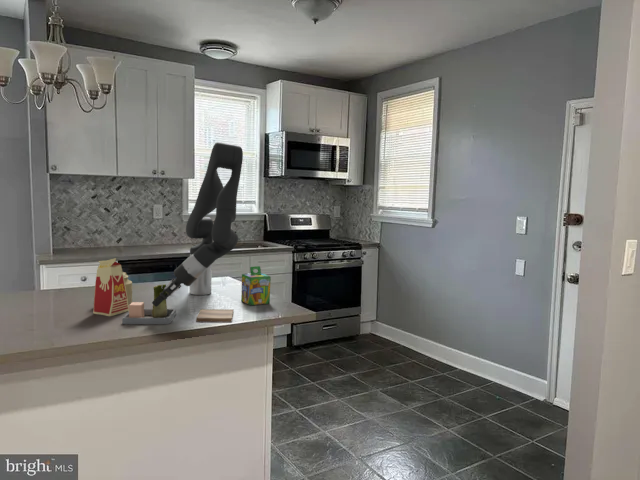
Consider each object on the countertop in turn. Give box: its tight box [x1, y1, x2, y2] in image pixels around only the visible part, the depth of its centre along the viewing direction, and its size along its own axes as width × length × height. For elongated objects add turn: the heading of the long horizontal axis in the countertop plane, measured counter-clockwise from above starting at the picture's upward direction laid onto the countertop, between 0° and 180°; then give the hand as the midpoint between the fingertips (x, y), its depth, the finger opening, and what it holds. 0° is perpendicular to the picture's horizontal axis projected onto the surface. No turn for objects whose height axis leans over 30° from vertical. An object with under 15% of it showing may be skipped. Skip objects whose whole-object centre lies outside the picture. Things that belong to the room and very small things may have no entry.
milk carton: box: [92, 257, 129, 317], centre depth 168 cm, size 9×9×20 cm
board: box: [195, 308, 234, 323], centre depth 168 cm, size 12×12×1 cm
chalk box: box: [240, 265, 272, 306], centre depth 191 cm, size 9×9×15 cm
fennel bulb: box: [151, 283, 168, 318], centre depth 163 cm, size 6×5×12 cm
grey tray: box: [121, 308, 177, 325], centre depth 163 cm, size 12×15×2 cm
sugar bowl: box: [122, 271, 133, 305], centre depth 182 cm, size 15×11×15 cm
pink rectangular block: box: [128, 301, 145, 318], centre depth 160 cm, size 4×4×6 cm
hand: (156, 301), depth 163 cm, fingers open, 8 cm apart
